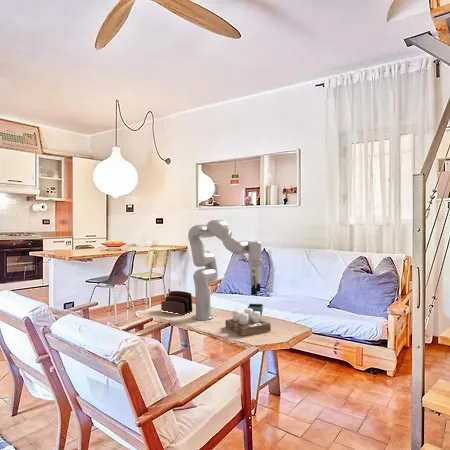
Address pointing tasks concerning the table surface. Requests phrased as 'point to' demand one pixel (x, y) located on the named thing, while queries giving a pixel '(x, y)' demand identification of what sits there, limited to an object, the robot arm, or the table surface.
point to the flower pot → (256, 308)
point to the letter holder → (178, 302)
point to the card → (255, 325)
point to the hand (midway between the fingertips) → (255, 293)
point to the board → (247, 327)
